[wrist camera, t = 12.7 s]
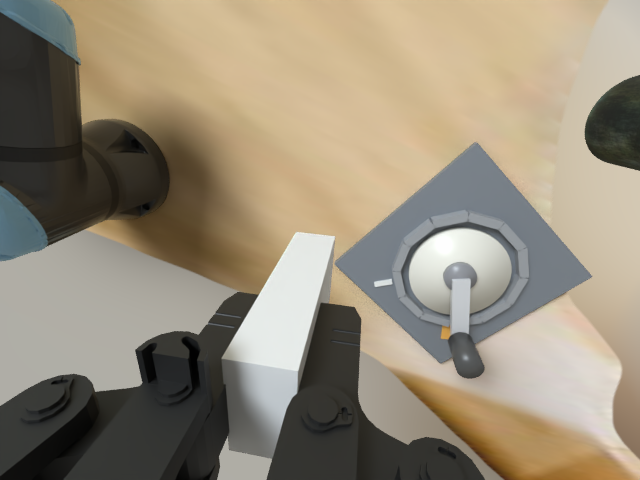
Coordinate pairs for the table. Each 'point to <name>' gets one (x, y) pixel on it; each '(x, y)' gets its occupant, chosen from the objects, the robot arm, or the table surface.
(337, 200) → the table surface
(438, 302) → the dial
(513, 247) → the panel
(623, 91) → the mug
